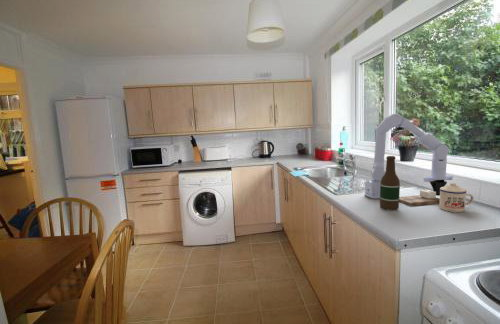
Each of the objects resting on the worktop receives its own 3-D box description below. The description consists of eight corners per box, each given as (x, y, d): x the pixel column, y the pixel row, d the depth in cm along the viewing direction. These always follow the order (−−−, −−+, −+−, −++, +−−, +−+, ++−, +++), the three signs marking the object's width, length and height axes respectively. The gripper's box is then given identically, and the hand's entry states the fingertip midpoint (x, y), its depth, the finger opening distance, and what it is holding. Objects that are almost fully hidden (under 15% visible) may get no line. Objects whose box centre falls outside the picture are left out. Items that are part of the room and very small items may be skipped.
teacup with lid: (443, 211, 106) (444, 185, 104) (435, 205, 114) (436, 180, 113) (478, 213, 102) (480, 186, 100) (467, 207, 110) (469, 181, 109)
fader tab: (428, 198, 119) (428, 192, 119) (419, 195, 124) (420, 189, 124) (435, 197, 120) (436, 191, 119) (426, 195, 125) (427, 189, 124)
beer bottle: (396, 206, 116) (398, 155, 113) (401, 211, 108) (403, 157, 105) (378, 205, 118) (379, 155, 115) (381, 210, 111) (382, 157, 108)
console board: (410, 206, 115) (410, 202, 115) (394, 200, 125) (394, 197, 125) (443, 202, 118) (443, 199, 118) (425, 197, 128) (425, 194, 127)
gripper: (433, 170, 116) (431, 198, 118) (459, 168, 118) (457, 195, 120) (420, 168, 123) (419, 194, 124) (445, 166, 125) (444, 192, 127)
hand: (437, 195), depth 123 cm, fingers closed
